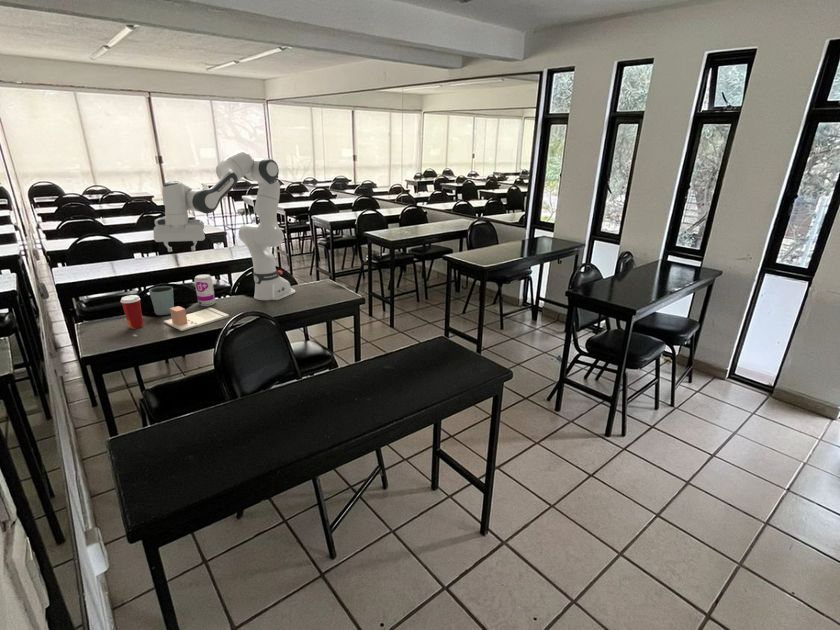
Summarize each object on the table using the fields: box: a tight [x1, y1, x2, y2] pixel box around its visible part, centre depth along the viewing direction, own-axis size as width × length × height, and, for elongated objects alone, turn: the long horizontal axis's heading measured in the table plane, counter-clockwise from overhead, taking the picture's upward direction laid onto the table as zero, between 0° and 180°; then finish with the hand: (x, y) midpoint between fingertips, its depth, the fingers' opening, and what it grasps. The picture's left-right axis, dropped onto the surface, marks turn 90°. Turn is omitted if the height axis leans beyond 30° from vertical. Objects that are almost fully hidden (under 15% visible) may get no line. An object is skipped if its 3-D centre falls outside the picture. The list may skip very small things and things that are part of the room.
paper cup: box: [119, 294, 144, 330], centre depth 208 cm, size 8×8×14 cm
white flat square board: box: [186, 307, 230, 327], centre depth 221 cm, size 16×16×1 cm
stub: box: [163, 305, 197, 332], centre depth 211 cm, size 7×16×8 cm, turn 53°
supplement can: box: [194, 273, 216, 307], centre depth 236 cm, size 8×8×15 cm
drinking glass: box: [148, 285, 175, 316], centre depth 225 cm, size 10×10×12 cm
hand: (181, 250), depth 207 cm, fingers open, 8 cm apart
